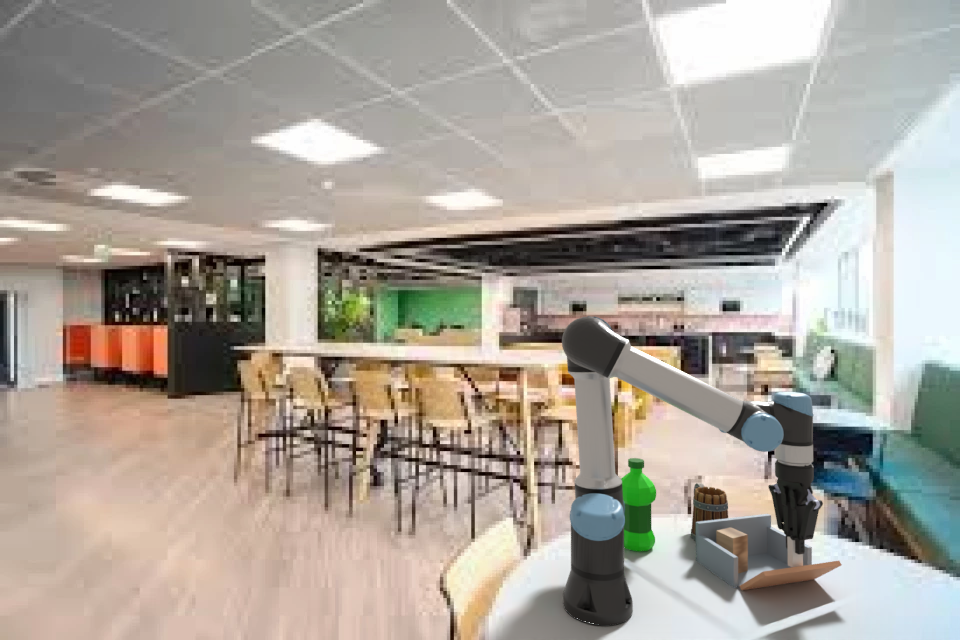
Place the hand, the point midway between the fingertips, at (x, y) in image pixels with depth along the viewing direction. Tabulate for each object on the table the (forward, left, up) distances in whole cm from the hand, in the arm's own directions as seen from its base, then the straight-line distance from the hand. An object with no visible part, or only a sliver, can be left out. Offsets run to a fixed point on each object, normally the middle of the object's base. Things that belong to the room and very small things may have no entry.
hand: (795, 565), depth 120 cm
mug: (+2, +33, -8) cm, 34 cm away
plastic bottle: (-21, +32, -8) cm, 39 cm away
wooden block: (-5, +14, -7) cm, 17 cm away
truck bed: (0, +13, -8) cm, 16 cm away
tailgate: (0, +5, -7) cm, 9 cm away
